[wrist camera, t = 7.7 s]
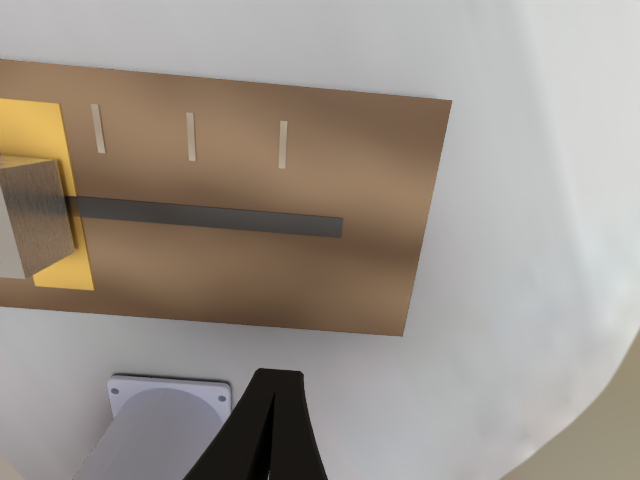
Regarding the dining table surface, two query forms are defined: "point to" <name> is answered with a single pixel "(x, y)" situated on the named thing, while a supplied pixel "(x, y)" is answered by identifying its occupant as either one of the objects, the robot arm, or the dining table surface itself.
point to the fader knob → (31, 216)
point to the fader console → (227, 196)
